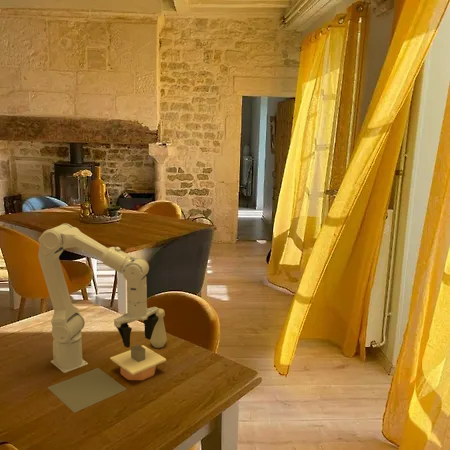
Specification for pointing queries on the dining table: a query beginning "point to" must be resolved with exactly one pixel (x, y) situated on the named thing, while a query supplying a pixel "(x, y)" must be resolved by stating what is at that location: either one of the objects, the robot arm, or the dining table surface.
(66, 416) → the dining table surface
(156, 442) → the dining table surface
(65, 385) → the mat
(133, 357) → the lid
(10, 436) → the dining table surface
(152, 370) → the bowl
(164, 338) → the salt shaker
